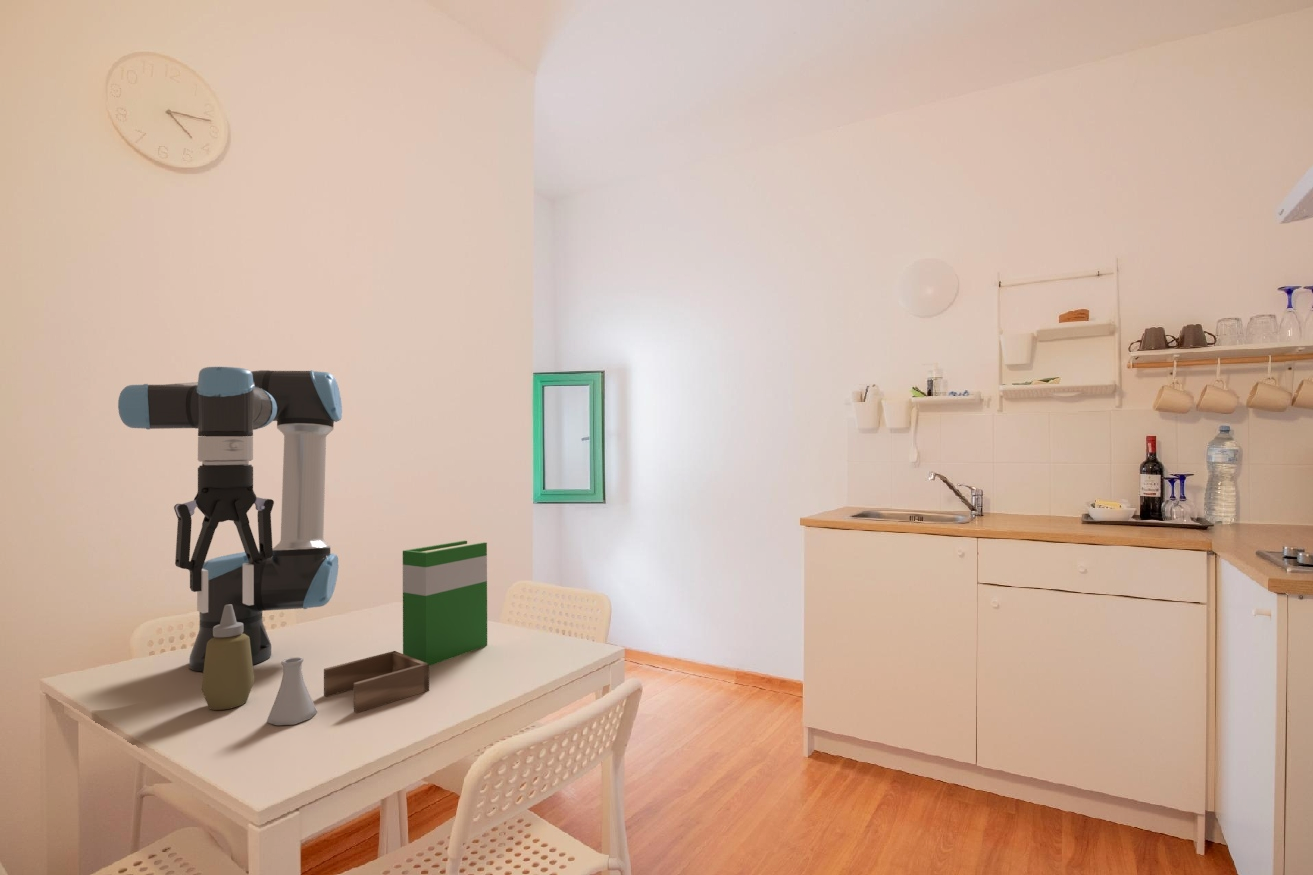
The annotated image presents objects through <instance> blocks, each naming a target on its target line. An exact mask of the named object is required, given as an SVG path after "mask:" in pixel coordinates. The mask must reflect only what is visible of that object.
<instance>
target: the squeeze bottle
mask: <svg viewBox="0 0 1313 875" xmlns="http://www.w3.org/2000/svg"><path fill="white" fill-rule="evenodd" d="M213 636H214V638H211V639H210V640H209V641H208V642H207V646H206V654H205V663H204V671H203V672H202V673H203V674H202V681H201V689H200V690H201V692H202V694H203V697H204V699H205V702H206V704H207V706H208V708H209V709H210V710H214V711H218V710H219V711H221V710H222V711H224V710H228V709H234V708H237V707H240V706H242V705H244V704H245V703H247V702H248V700H249V696H250V693H251V691H252V688H253V685H254V682H255V674H254V665H253V664H252V655H251V647H250V638H249V636H247V635H246V634H243V623H241V622H237V621H236V617H235V613H234V610H233V606H232V604H229V605H225V606H224V610H223V614H222V618H221V622H220V624H219V625H216V626H214V627H213Z"/></svg>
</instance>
